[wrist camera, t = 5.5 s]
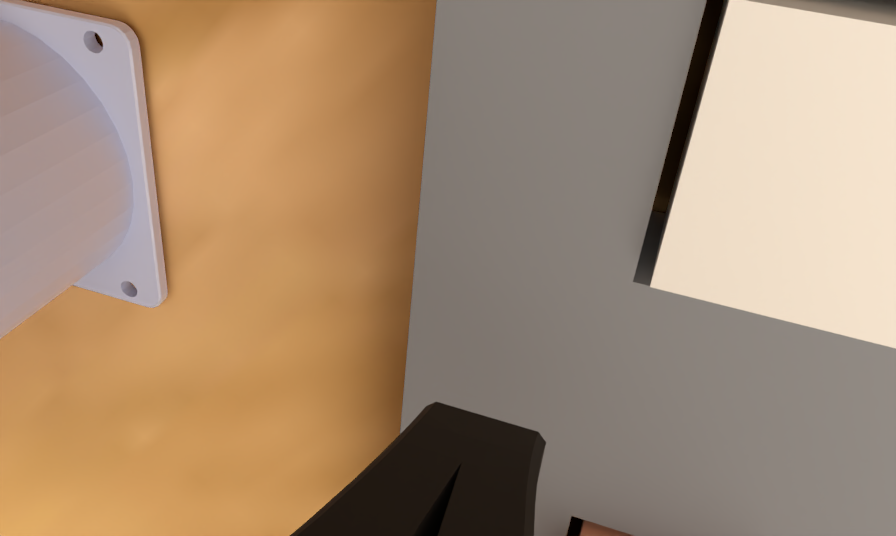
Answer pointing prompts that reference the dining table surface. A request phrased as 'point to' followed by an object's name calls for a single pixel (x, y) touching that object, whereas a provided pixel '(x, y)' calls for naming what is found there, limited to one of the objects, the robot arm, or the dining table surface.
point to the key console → (618, 295)
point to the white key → (792, 169)
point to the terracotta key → (599, 530)
